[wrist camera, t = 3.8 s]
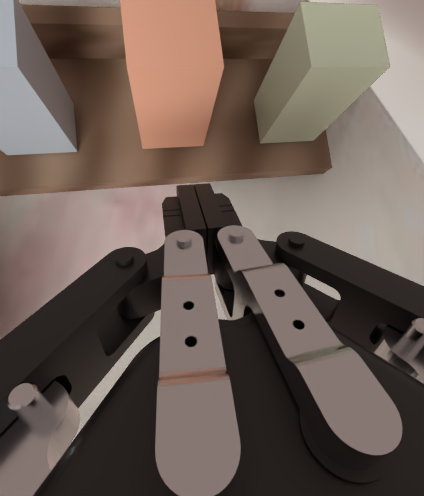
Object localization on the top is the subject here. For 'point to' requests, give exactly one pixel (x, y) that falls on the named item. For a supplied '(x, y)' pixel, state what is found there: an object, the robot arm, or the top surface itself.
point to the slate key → (30, 91)
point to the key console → (124, 116)
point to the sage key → (320, 70)
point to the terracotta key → (172, 68)
